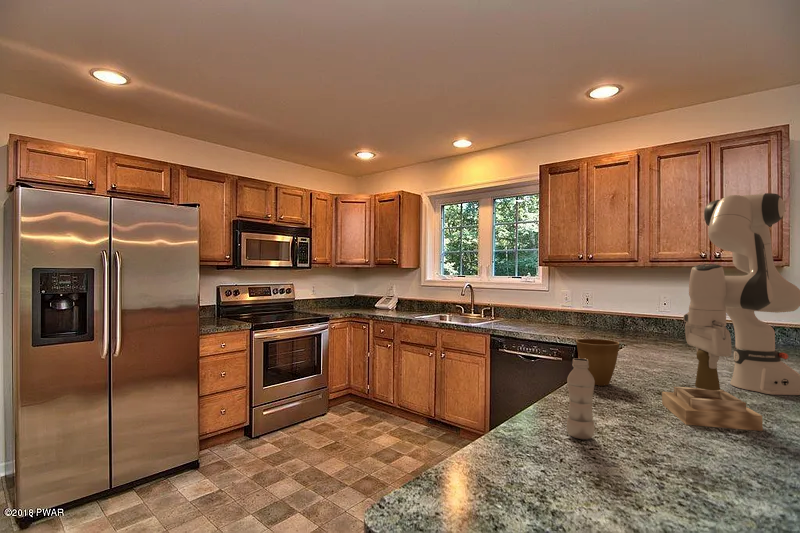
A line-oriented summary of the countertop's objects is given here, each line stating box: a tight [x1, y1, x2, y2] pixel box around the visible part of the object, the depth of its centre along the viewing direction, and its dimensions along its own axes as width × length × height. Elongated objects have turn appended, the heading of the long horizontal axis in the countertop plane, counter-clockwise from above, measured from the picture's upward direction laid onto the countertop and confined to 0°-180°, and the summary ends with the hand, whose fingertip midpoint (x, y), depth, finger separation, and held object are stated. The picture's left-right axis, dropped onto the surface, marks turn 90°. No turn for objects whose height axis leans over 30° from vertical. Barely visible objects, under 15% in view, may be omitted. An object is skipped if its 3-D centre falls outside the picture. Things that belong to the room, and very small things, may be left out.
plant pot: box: [575, 338, 620, 387], centre depth 156 cm, size 15×15×16 cm
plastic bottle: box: [566, 357, 596, 440], centre depth 106 cm, size 6×7×20 cm
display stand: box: [661, 386, 764, 432], centre depth 121 cm, size 18×18×6 cm
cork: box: [694, 350, 721, 390], centre depth 121 cm, size 6×6×11 cm
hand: (707, 365), depth 121 cm, fingers closed on cork, 4 cm apart
